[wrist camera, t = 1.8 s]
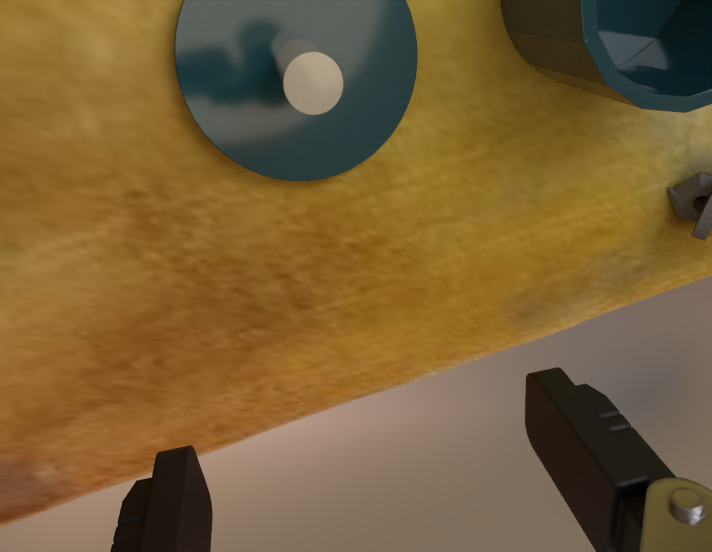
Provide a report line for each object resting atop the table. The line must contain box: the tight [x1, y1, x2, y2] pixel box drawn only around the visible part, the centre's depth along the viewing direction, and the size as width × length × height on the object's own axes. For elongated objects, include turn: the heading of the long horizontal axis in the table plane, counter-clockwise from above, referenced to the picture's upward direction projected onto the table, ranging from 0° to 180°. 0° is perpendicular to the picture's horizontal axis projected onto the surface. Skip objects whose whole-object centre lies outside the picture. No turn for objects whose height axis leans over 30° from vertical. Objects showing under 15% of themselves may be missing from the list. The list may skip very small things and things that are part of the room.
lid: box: [174, 0, 417, 181], centre depth 30 cm, size 14×14×9 cm
